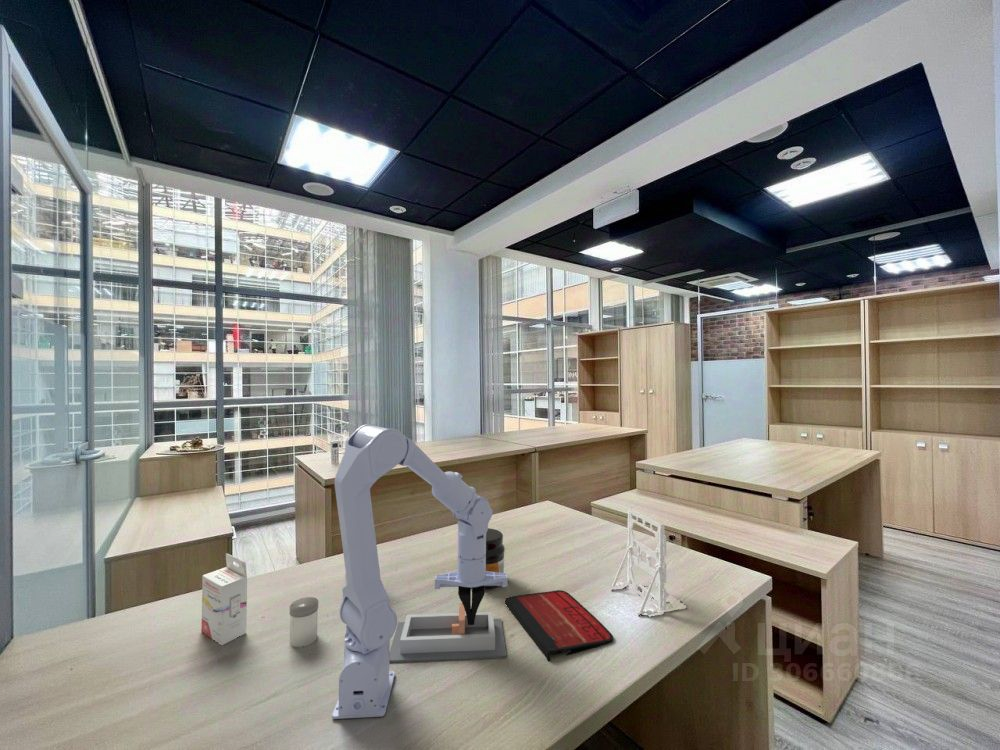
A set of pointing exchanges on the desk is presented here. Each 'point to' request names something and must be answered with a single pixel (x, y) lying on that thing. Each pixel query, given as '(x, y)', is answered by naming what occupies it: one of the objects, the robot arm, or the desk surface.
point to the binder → (558, 622)
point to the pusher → (459, 628)
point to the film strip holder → (658, 555)
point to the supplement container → (494, 552)
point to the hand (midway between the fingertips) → (470, 622)
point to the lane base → (447, 638)
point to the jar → (303, 621)
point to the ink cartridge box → (225, 601)
